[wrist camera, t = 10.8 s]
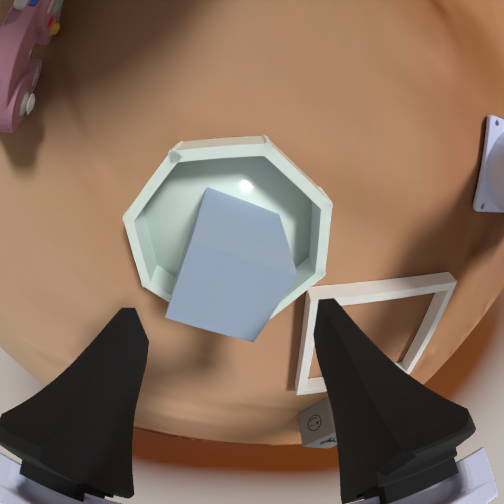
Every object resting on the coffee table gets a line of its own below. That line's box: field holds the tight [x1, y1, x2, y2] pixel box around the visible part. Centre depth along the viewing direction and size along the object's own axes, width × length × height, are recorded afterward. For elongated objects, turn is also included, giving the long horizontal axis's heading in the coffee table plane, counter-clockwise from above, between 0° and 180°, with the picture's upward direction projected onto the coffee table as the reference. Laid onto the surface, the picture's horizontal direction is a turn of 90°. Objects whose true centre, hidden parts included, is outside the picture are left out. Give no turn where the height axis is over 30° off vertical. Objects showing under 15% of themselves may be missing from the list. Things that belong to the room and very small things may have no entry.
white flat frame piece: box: [295, 272, 457, 395], centre depth 24 cm, size 14×14×2 cm
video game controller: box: [0, 0, 64, 133], centre depth 8 cm, size 10×5×7 cm, turn 156°
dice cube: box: [298, 398, 337, 448], centre depth 30 cm, size 5×5×5 cm
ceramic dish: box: [123, 134, 333, 319], centre depth 17 cm, size 11×11×2 cm
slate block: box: [165, 187, 297, 342], centre depth 15 cm, size 4×4×6 cm
